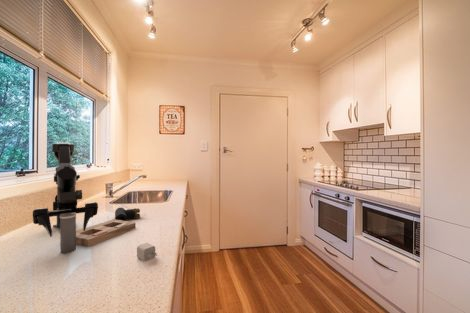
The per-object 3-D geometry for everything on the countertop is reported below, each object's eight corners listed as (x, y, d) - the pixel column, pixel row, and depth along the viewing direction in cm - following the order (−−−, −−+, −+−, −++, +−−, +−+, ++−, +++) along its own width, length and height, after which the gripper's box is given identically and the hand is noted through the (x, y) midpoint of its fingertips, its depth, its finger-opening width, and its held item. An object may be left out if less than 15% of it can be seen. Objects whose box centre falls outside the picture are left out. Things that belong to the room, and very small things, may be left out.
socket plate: (63, 240, 88) (63, 233, 88) (113, 224, 108) (113, 218, 108) (88, 246, 82) (88, 238, 82) (135, 227, 103) (135, 221, 103)
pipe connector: (138, 205, 126) (140, 211, 113) (138, 214, 126) (141, 221, 113) (114, 207, 121) (115, 214, 108) (115, 217, 121) (115, 225, 108)
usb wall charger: (148, 253, 76) (148, 242, 76) (159, 260, 72) (159, 247, 72) (136, 258, 73) (136, 245, 73) (148, 264, 69) (148, 251, 69)
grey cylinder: (57, 252, 78) (56, 214, 77) (71, 247, 82) (70, 211, 82) (65, 254, 76) (65, 216, 76) (79, 249, 80) (79, 212, 80)
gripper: (32, 185, 76) (30, 226, 67) (97, 181, 87) (101, 215, 79) (34, 204, 82) (32, 244, 73) (94, 198, 94) (98, 231, 85)
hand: (68, 233), depth 78 cm, fingers open, 9 cm apart
